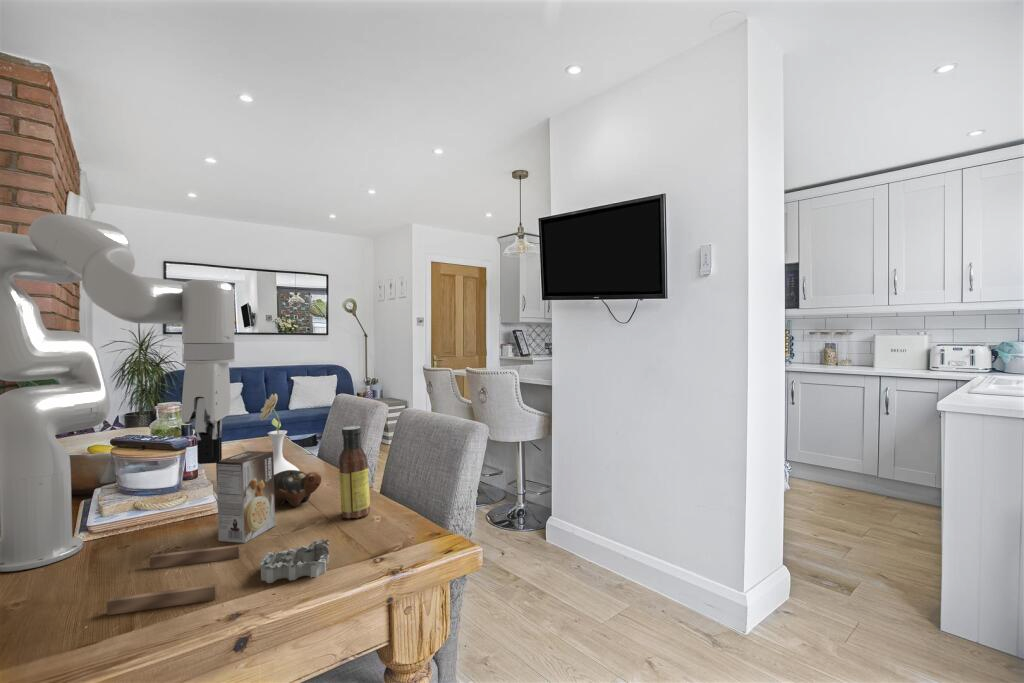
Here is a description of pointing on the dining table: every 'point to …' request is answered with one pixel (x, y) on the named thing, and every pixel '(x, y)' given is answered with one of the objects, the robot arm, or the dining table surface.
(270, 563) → the egg carton
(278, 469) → the flower in vase
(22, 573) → the dining table surface
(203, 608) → the dining table surface
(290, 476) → the decorative turtle
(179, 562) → the pair of wooden bars
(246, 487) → the coffee box
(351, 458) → the sauce bottle
